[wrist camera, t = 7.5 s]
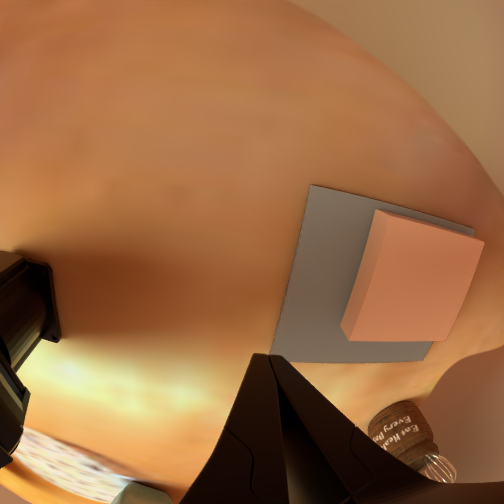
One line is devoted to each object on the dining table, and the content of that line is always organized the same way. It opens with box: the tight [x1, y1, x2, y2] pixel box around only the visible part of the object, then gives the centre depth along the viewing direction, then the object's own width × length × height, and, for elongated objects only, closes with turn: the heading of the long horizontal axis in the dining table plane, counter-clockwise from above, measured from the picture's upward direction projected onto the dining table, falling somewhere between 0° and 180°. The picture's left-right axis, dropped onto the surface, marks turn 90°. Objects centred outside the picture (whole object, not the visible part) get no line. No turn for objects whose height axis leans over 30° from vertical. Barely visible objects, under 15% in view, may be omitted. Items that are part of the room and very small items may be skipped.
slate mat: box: [270, 185, 476, 363], centre depth 19 cm, size 12×14×1 cm
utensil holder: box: [368, 401, 456, 483], centre depth 19 cm, size 6×6×12 cm
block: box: [340, 209, 485, 342], centre depth 17 cm, size 8×2×9 cm
